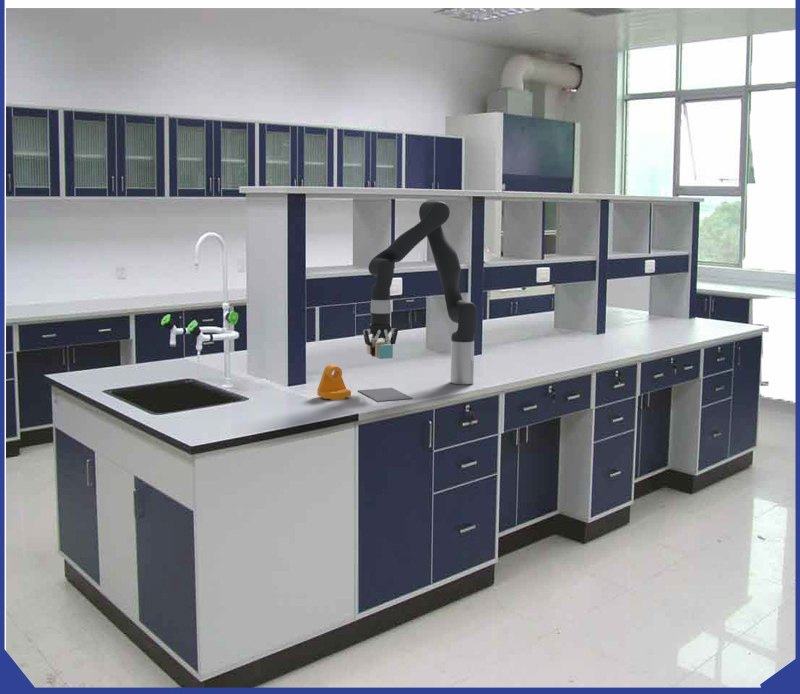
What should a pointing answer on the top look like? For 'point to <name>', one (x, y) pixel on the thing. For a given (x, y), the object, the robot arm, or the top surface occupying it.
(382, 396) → the rubber mat
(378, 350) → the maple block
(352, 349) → the top surface
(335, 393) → the bracket
